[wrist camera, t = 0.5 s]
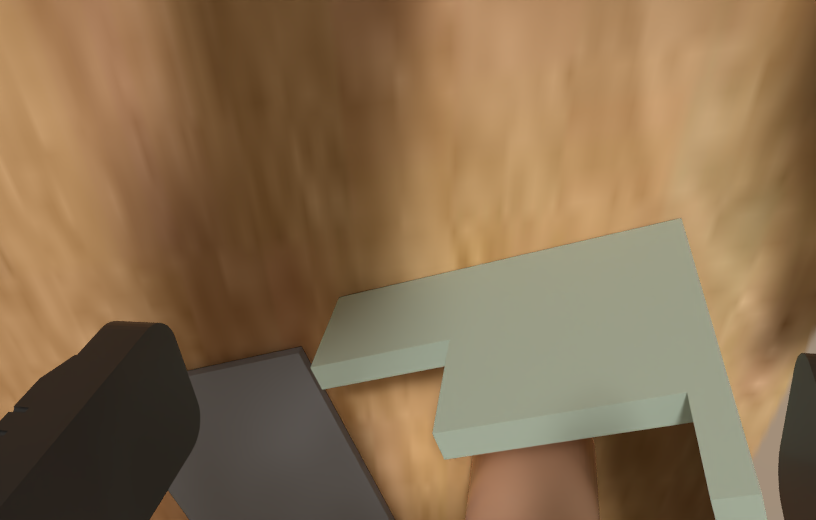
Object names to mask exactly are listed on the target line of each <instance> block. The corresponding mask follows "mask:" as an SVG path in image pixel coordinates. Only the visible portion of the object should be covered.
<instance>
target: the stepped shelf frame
mask: <svg viewBox="0 0 816 520" xmlns="http://www.w3.org/2000/svg"><path fill="white" fill-rule="evenodd" d="M444 366H445V367H444ZM438 367H444V373H443V378H442V384H441V389H440V395H439V400H438V406H437V411H436V417H435V422H434V428H433V433H432V434H433V436H434V438H435V440H436V442H437V445H438V447H439V449H440V451H441V453H442V455H443V457H444V459H452V458H459V457H465V456H472V455H478V454H485V453H492V452H498V451H505V450H512V449H518V448H525V447H532V446H538V445H545V444H552V443H558V442H565V441H572V440H578V439H585V438H591V437H598V436H605V435H611V434H618V433H625V432H631V431H638V430H645V429H651V428H658V427H665V426H671V425H678V424H684V423H691V422H694V427H695V431H696V436H697V440H698V445H699V450H700V454H701V459H702V463H703V468H704V472H705V477H706V482H707V486H708V491H709V495H710V500H711V504H712V508H713V512H714V515H715V519H716V520H767V516H766V511H765V506H764V501H763V497H762V493H761V489H760V486H759V482H758V479H757V476H756V472H755V469H754V465H753V462H752V458H751V455H750V451H749V448H748V445H747V441H746V438H745V434H744V431H743V427H742V424H741V421H740V417H739V414H738V410H737V407H736V404H735V400H734V397H733V393H732V390H731V386H730V383H729V380H728V376H727V373H726V369H725V366H724V362H723V359H722V356H721V352H720V349H719V345H718V342H717V338H716V335H715V332H714V328H713V325H712V321H711V318H710V315H709V311H708V308H707V304H706V301H705V297H704V294H703V291H702V287H701V284H700V280H699V277H698V273H697V270H696V267H695V263H694V260H693V256H692V253H691V249H690V246H689V243H688V239H687V236H686V232H685V229H684V226H683V222H682V219H681V218H679V219H675V220H671V221H666V222H662V223H658V224H653V225H649V226H645V227H641V228H636V229H632V230H628V231H623V232H619V233H615V234H610V235H606V236H602V237H597V238H593V239H589V240H585V241H580V242H576V243H572V244H567V245H563V246H559V247H554V248H550V249H546V250H541V251H537V252H533V253H529V254H524V255H520V256H516V257H511V258H507V259H503V260H498V261H494V262H490V263H485V264H481V265H477V266H473V267H468V268H464V269H460V270H455V271H451V272H447V273H442V274H438V275H434V276H429V277H425V278H421V279H417V280H412V281H408V282H404V283H399V284H395V285H391V286H386V287H382V288H378V289H373V290H369V291H365V292H361V293H356V294H352V295H348V296H343V297H339V299H338V301H337V304H336V306H335V308H334V311H333V313H332V316H331V318H330V321H329V323H328V326H327V328H326V331H325V333H324V335H323V338H322V340H321V343H320V345H319V348H318V350H317V353H316V355H315V357H314V360H313V362H312V365H311V367H310V368H311V370H312V372H313V374H314V375H315V377H316V379H317V381H318V383H319V385H320V386H321V388H322V390H323V389H329V388H334V387H339V386H344V385H350V384H355V383H360V382H365V381H370V380H376V379H381V378H386V377H391V376H397V375H402V374H407V373H412V372H418V371H423V370H428V369H433V368H438Z"/></svg>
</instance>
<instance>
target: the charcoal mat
mask: <svg viewBox="0 0 816 520" xmlns="http://www.w3.org/2000/svg"><path fill="white" fill-rule="evenodd" d="M310 367H311V363H310V361H309V360H308V358H307V356H306V354H305V352H304V350H303V348H302V347H297V348H292V349H288V350H283V351H278V352H274V353H269V354H264V355H259V356H255V357H250V358H245V359H241V360H236V361H231V362H227V363H222V364H217V365H213V366H208V367H203V368H199V369H194V370H189V371H187V372H188V375H189V378H190V381H191V384H192V387H193V389H194V392H195V395H196V398H197V401H198V404H199V408H200V429H199V434H198V438H197V441H196V444H195V446H194V448H193V450H192V452H191V453H190V455H189V457H188V458H187V460H186V461H185V463H184V465H183V466H182V468H181V470H180V471H179V473H178V474H177V476H176V478H175V479H174V481H173V482H172V484H171V486H170V487H169V489H168V491H169V492H170V494H171V495H172V496H173V498H174V499H175V500H176V502H177V503H178V505H179V506H180V507H181V509H182V510H183V512H184V513H185V514H186V516H187V517H188V518H189V520H395V519H394V517H393V515H392V513H391V511H390V510H389V508H388V506H387V504H386V502H385V500H384V498H383V497H382V495H381V493H380V491H379V489H378V487H377V486H376V484H375V482H374V480H373V478H372V476H371V474H370V473H369V471H368V469H367V467H366V465H365V463H364V461H363V460H362V458H361V456H360V454H359V452H358V450H357V448H356V447H355V445H354V443H353V441H352V439H351V437H350V436H349V434H348V432H347V430H346V428H345V426H344V424H343V423H342V421H341V419H340V417H339V415H338V413H337V411H336V410H335V408H334V406H333V404H332V402H331V400H330V398H329V397H328V395H327V393H326V391H325V389H323V390H322V388H321V386H320V385H319V383H318V381H317V379H316V377H315V375H314V374H313V372H312V370H311V368H310Z"/></svg>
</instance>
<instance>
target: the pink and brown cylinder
mask: <svg viewBox="0 0 816 520" xmlns="http://www.w3.org/2000/svg"><path fill="white" fill-rule="evenodd" d="M465 520H600V516H599V500H598V484H597V469H596V453H595V445H594V441H593V439H592V437H591V438H585V439H578V440H572V441H565V442H558V443H552V444H545V445H538V446H532V447H525V448H518V449H512V450H505V451H498V452H492V453H485V454H478V455H473V457H472V466H471V474H470V483H469V491H468V500H467V509H466V517H465Z"/></svg>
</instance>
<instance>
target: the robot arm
mask: <svg viewBox="0 0 816 520" xmlns="http://www.w3.org/2000/svg"><path fill="white" fill-rule="evenodd" d="M199 429H200V408H199V404H198V401H197V398H196V395H195V392H194V389H193V387H192V384H191V381H190V378H189V375H188V372H187V370H186V367H185V364H184V361H183V358H182V355H181V353H180V350H179V347H178V344H177V341H176V338H175V336H174V334H173V332H172V330H171V329H170V328H169V327H168V326H167V325H165V324H163V323H148V322H125V321H112V322H109V323H107V324H106V325H104V326H103V327H102V328H101V329H100V330H99V331H98V333H97V334H96V335H95V336H94V337H93V338H92V339H91V340H90V341H89V342H88V344H87V345H86V346H85V347H84V348H83V349H82V350H81V351H80V352H79V353H78V355H74V356H73V357H71V358H70V359H68V360H67V361H65V362H64V363H62V364H61V365H59V366H58V367H56V368H55V369H53V370H52V371H50V372H49V373H47V374H46V375H44V376H43V377H41V378H40V379H39V380H38V381H37V382H36V383H35V384H34V385H33V386H32V387H31V389H30V390H29V391H28V392H27V393H26V394H25V395H24V396H23V397H22V398H21V399H20V400H19V401H18V402H17V403H16V405H15V406H14V411H13V412H8V413H7V414H6V415H5V416H4V417H3V418H2V420H1V421H0V520H150V518H151V516H152V515H153V513H154V512H155V510H156V508H157V507H158V505H159V503H160V502H161V500H162V499H163V497H164V495H165V494H166V492H167V491H168V489H169V487H170V486H171V484H172V482H173V481H174V479H175V478H176V476H177V474H178V473H179V471H180V470H181V468H182V466H183V465H184V463H185V461H186V460H187V458H188V457H189V455H190V453H191V452H192V450H193V448H194V446H195V444H196V441H197V438H198V434H199ZM778 467H779V468H778V476H779V492H780V500H781V505H782V510H783V515H784V520H816V354H809V353H801V354H800V355H799V356H798V358H797V360H796V364H795V368H794V373H793V379H792V384H791V390H790V395H789V401H788V406H787V412H786V417H785V423H784V428H783V434H782V439H781V445H780V451H779V466H778Z"/></svg>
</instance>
